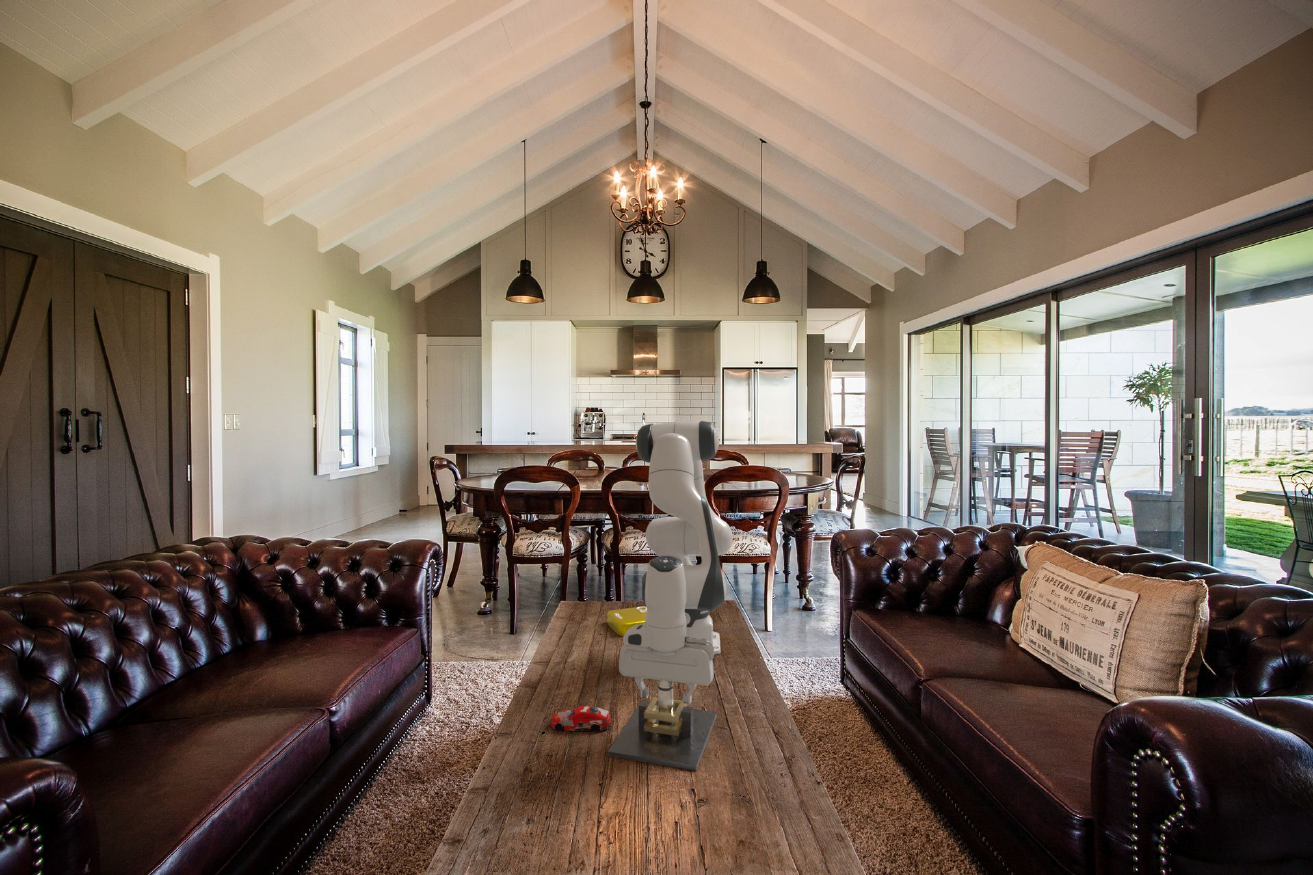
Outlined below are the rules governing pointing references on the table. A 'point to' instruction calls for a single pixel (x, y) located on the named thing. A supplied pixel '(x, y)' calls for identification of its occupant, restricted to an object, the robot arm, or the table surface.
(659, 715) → the collar stand
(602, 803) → the table surface
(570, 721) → the race car
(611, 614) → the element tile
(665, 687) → the metal tube
